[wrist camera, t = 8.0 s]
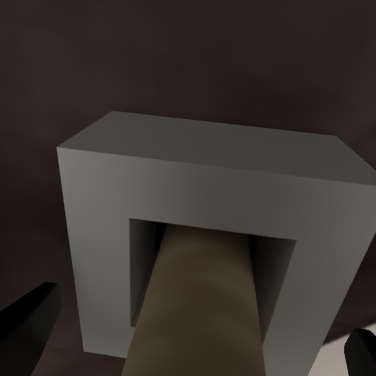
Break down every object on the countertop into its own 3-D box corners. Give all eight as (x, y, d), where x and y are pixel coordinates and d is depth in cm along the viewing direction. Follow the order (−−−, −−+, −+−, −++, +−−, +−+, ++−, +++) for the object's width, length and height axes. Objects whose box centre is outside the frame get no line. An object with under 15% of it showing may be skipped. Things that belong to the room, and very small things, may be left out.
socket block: (336, 136, 11) (396, 188, 7) (282, 297, 16) (302, 386, 12) (112, 110, 12) (56, 147, 8) (118, 273, 16) (83, 351, 12)
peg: (251, 188, 13) (298, 431, 5) (238, 249, 14) (257, 508, 7) (173, 178, 13) (96, 397, 5) (169, 240, 15) (105, 480, 7)
